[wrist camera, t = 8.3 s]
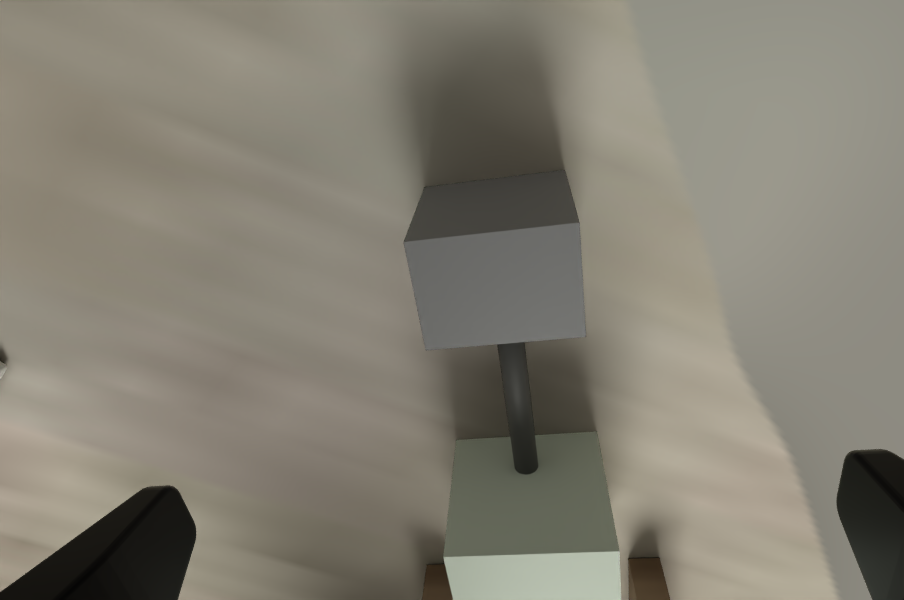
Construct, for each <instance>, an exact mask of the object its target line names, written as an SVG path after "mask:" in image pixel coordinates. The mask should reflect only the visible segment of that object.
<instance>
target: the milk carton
mask: <svg viewBox="0 0 904 600" xmlns="http://www.w3.org/2000/svg"><path fill="white" fill-rule="evenodd" d="M6 369H7V366H6V365H5V364H4V363H2V362H1V361H0V379H1V378H2V376H3V374H4V373H5V371H6Z"/></svg>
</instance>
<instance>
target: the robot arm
mask: <svg viewBox="0 0 904 600" xmlns="http://www.w3.org/2000/svg"><path fill="white" fill-rule="evenodd" d="M837 510H838V514H839V517H840V520H841V523H842V525H843V527H844V530H845V533H846V535H847V537H848V540H849V543H850V545H851V547H852V550H853V552H854V555H855V558H856V560H857V563H858V565H859V568H860V570H861V572H862V575H863V578H864V580H865V582H866V585H867V588H868V590H869V592H870V595H871V597H872V600H904V459H902V458H901V457H899V456H897V455H895V454H894V453H892V452H890V451H888V450H883V449H873V450H854V451H851V452H849V453H848V454H847V455H846V457H845V460H844V464H843V469H842V475H841V478H840V484H839V488H838V493H837ZM195 540H196V526H195V523H194V520H193V518H192V516H191V514H190V512H189V510H188V508H187V506H186V504H185V502H184V500H183V498H182V496H181V494H180V493H179V491H178V490H177V489H176V488H175V487H173V486H151V487H146V488H144V489H142V490H140V491H139V492H137V493H136V494H135V495H133V496H132V497H131V498H129V499H128V500H126V501H125V502H124V503H122V504H121V505H120V506H118V507H117V508H115V509H114V510H113V511H111V512H110V513H109V514H107V515H106V516H104V517H103V518H102V519H100V520H99V521H97V522H96V523H95V524H93V525H92V526H91V527H89V528H88V529H86V530H85V531H84V532H82V533H81V534H80V535H78V536H77V537H75V538H74V539H73V540H71V541H70V542H69V543H67V544H66V545H64V546H63V547H62V548H60V549H59V550H58V551H56V552H55V553H53V554H52V555H51V556H49V557H48V558H47V559H45V560H44V561H42V562H41V563H40V564H38V565H37V566H36V567H34V568H33V569H31V570H30V571H29V572H27V573H26V574H25V575H23V576H22V577H20V578H19V579H18V580H16V581H15V582H13V583H12V584H11V585H9V586H8V587H7V588H5V589H4V590H2V591H1V592H0V600H178V597H179V593H180V590H181V587H182V584H183V580H184V577H185V574H186V570H187V567H188V564H189V561H190V557H191V554H192V551H193V547H194V544H195Z"/></svg>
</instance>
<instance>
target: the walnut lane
mask: <svg viewBox="0 0 904 600" xmlns="http://www.w3.org/2000/svg"><path fill="white" fill-rule="evenodd" d="M628 564H629V600H670V597H669V593H668V589H667V585H666V581H665V577H664V573H663V569H662V566H661V562H660V558H638V559H628ZM422 600H453V597H452V593H451V588H450V584H449V580H448V575H447V571H446V567H445V564H436V565H427V568H426V575H425V582H424V590H423V597H422Z"/></svg>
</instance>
